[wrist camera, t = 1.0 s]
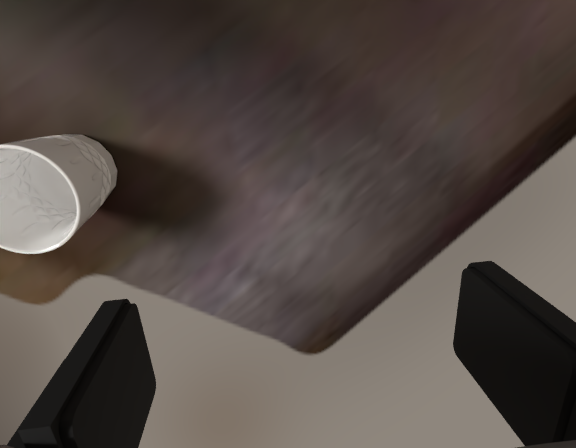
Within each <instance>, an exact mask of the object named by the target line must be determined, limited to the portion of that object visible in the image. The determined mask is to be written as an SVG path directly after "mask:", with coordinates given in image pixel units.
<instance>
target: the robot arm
mask: <svg viewBox="0 0 576 448" xmlns="http://www.w3.org/2000/svg"><path fill="white" fill-rule="evenodd" d="M453 347H454V351H455V353H456V355H457V357H458V358H459V359H460V361H461V362H462V363H463V365H464V366H465V367H466V369H467V370H468V371H469V373H470V374H471V375H472V376H473V378H474V379H475V381H476V382H477V383H478V385H479V386H480V387H481V388H482V390H483V391H484V392H485V394H486V395H487V396H488V398H489V399H490V400H491V402H492V403H493V404H494V405H495V407H496V408H497V410H498V411H499V412H500V413H501V415H502V416H503V418H504V419H505V420H506V421H507V423H508V424H509V425H510V427H511V428H512V429H513V431H514V432H515V433H516V435H517V436H518V437H519V438H520V440H521V441H522V442H523V444H524V445H525V446H524V447H517V448H576V322H574V321H573V320H572V319H570V318H569V317H568V316H566V315H565V314H564V313H562V312H561V311H560V310H558V309H557V308H555V307H554V306H553V305H551V304H550V303H549V302H547V301H546V300H544V299H543V298H542V297H540V296H539V295H538V294H536V293H535V292H534V291H532V290H531V289H529V288H528V287H527V286H525V285H524V284H523V283H521V282H520V281H518V280H517V279H516V278H515V277H513V276H512V275H510V274H509V273H508V272H506V271H505V270H504V269H502V268H501V267H500V266H498V265H497V264H495V263H494V262H492V261H485V262H475V263H471V264H469V265H468V267H467V268H466V269H464V270H463V272H462V278H461V287H460V294H459V302H458V309H457V318H456V325H455V333H454V341H453ZM155 380H156V379H155V375H154V371H153V367H152V363H151V359H150V355H149V351H148V347H147V343H146V340H145V335H144V332H143V327H142V323H141V319H140V316H139V312H138V308H137V305H136V304H130V302H129V300H128V299H122V300H112V301H105V302H104V303H103V304H102V305H101V307H100V308H99V310H98V311H97V313H96V314H95V316H94V317H93V319H92V320H91V322H90V323H89V325H88V326H87V328H86V329H85V331H84V332H83V334H82V335H81V337H80V338H79V339H78V341H77V342H76V344H75V345H74V347H73V348H72V350H71V352H70V353H69V354H68V356H67V357H66V359H65V360H64V361H63V362H62V364H61V365H60V367H59V368H58V370H57V371H56V373H55V374H54V376H53V377H52V379H51V380H50V382H49V383H48V385H47V386H46V388H45V389H44V391H43V392H42V394H41V395H40V397H39V398H38V400H37V401H36V403H35V404H34V406H33V407H32V408H31V410H30V411H29V413H28V414H27V416H26V417H25V419H24V420H23V422H22V423H21V425H20V426H19V428H18V429H17V431H16V432H15V434H14V435H13V437H12V438H11V440H10V441H9V443H8V444H7V445H0V448H138V446H139V443H140V440H141V437H142V433H143V430H144V427H145V423H146V420H147V417H148V414H149V410H150V407H151V404H152V401H153V398H154V395H155V389H156V381H155Z"/></svg>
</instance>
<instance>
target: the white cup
mask: <svg viewBox="0 0 576 448" xmlns="http://www.w3.org/2000/svg"><path fill="white" fill-rule="evenodd" d="M116 180H117V168H116V166H115V163H114V160H113V158H112V155H111V154H110V153H109V152H108V151H107V150H106V149H105V148H104V147H103V146H102V145H101V144H100V143H99V142H97V141H95V140H93V139H91V138H88V137H86V136H84V135H74V134H63V135H56V136H46V137H40V138H32V139H27V140H21V141H16V142H10V143H5V144H0V248H3V249H6V250H9V251H12V252H17V253H23V254H38V253H44V252H48V251H51V250H54V249H56V248H58V247H60V246H62V245H63V244H64V243H66V242H67V241H68V240H69V239H70V238H71V237H72V236H73V235H74V234H75V233H76V232H77V231H78V230H79V229H80V228H81V227H82V226H83V224H84V223H85V222H86V221H87V220H88V219H89V218H90V217H91V216H92V215H93V214H94V213H95V212H96V211H97V210H98V209H99V207H100V206H101V205H102V204H103V203H104V201H105V200H106V199H107V197H108V196H109V195H110V193H111V192H112V190H113V189H114V188H115V186H116Z"/></svg>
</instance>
